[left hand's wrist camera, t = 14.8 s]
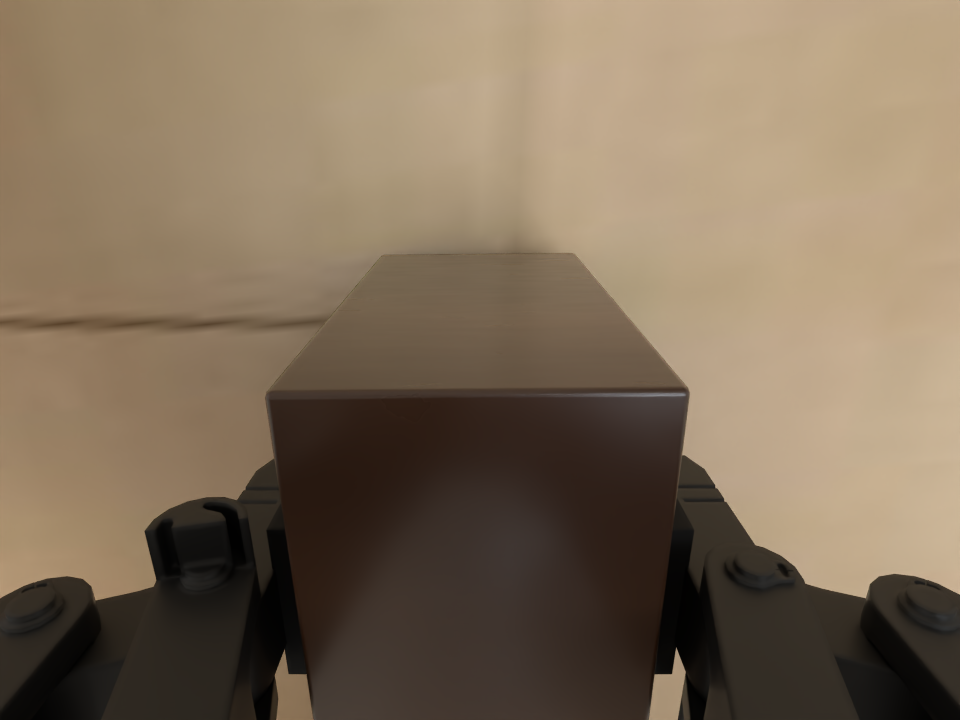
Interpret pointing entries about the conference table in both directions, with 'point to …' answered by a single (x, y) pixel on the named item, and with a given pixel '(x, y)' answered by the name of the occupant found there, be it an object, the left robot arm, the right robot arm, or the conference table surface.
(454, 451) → the rail
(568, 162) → the conference table surface
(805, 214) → the conference table surface
